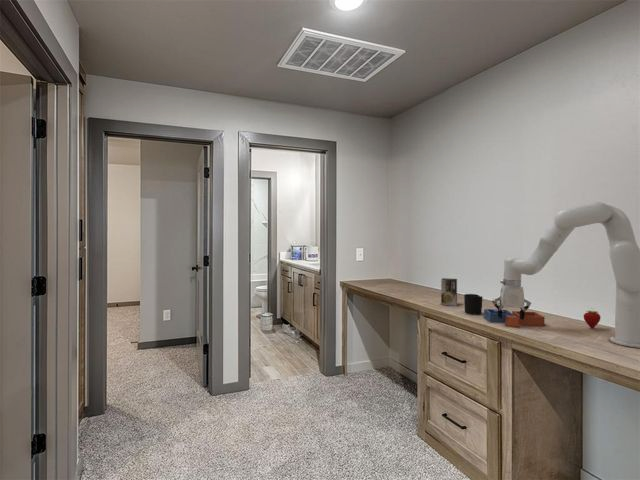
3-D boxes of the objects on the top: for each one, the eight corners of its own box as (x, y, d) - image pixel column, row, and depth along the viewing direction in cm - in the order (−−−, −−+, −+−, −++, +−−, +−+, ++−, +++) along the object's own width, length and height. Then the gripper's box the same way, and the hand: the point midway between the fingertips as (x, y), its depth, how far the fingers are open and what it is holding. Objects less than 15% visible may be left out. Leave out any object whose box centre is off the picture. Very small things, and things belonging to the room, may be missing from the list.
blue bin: (506, 318, 196) (506, 309, 196) (513, 323, 185) (513, 314, 185) (484, 317, 198) (484, 308, 198) (489, 322, 187) (490, 313, 187)
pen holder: (483, 312, 209) (483, 295, 209) (480, 315, 201) (480, 297, 201) (466, 310, 215) (466, 293, 214) (462, 313, 207) (462, 295, 207)
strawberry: (579, 327, 178) (580, 306, 178) (591, 326, 180) (592, 305, 180) (591, 330, 172) (592, 309, 172) (604, 329, 174) (604, 308, 174)
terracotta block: (515, 324, 182) (515, 315, 182) (518, 327, 178) (518, 317, 178) (505, 324, 183) (505, 315, 183) (508, 326, 179) (508, 317, 178)
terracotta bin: (535, 320, 191) (535, 311, 191) (544, 326, 180) (544, 316, 180) (512, 319, 193) (512, 311, 193) (519, 324, 182) (520, 315, 182)
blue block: (501, 318, 194) (501, 309, 193) (504, 320, 189) (504, 311, 189) (492, 318, 194) (492, 309, 194) (495, 320, 190) (495, 311, 190)
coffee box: (457, 304, 233) (457, 278, 233) (456, 306, 227) (456, 279, 227) (442, 303, 237) (442, 277, 237) (440, 304, 231) (441, 279, 231)
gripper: (495, 283, 178) (494, 319, 178) (534, 285, 175) (533, 321, 175) (491, 281, 185) (489, 315, 186) (528, 283, 182) (527, 317, 183)
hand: (510, 318), depth 181 cm, fingers open, 9 cm apart
